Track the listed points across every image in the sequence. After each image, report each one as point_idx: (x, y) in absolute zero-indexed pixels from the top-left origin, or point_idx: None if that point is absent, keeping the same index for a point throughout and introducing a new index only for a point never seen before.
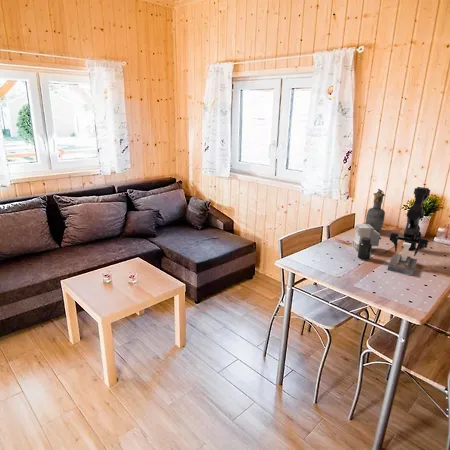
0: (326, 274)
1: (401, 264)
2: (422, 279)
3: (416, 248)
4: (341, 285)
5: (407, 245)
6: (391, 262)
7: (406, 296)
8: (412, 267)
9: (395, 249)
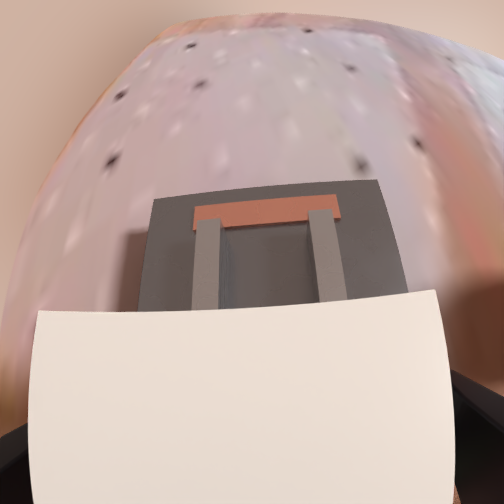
0: (481, 65)
1: (275, 269)
2: (112, 219)
3: (10, 462)
4: (403, 32)
5: (178, 324)
6: (381, 252)
7: (202, 54)
8: (160, 263)
9: (471, 382)
